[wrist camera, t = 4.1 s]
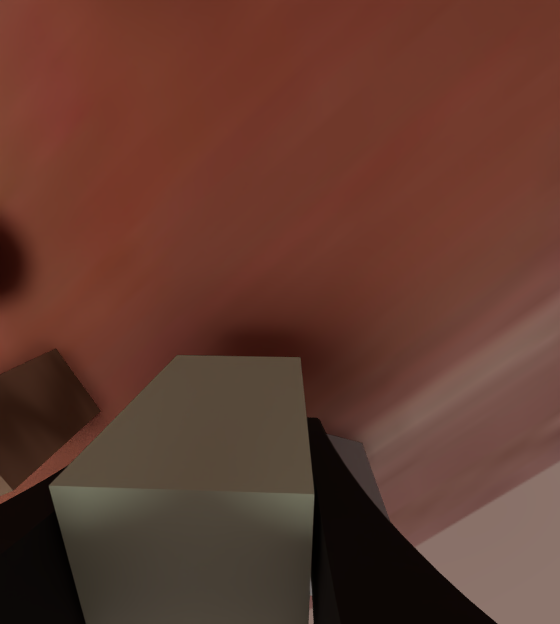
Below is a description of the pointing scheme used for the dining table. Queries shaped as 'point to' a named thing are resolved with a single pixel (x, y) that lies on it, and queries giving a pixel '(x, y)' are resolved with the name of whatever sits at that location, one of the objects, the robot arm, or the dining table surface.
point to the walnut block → (38, 415)
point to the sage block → (196, 499)
